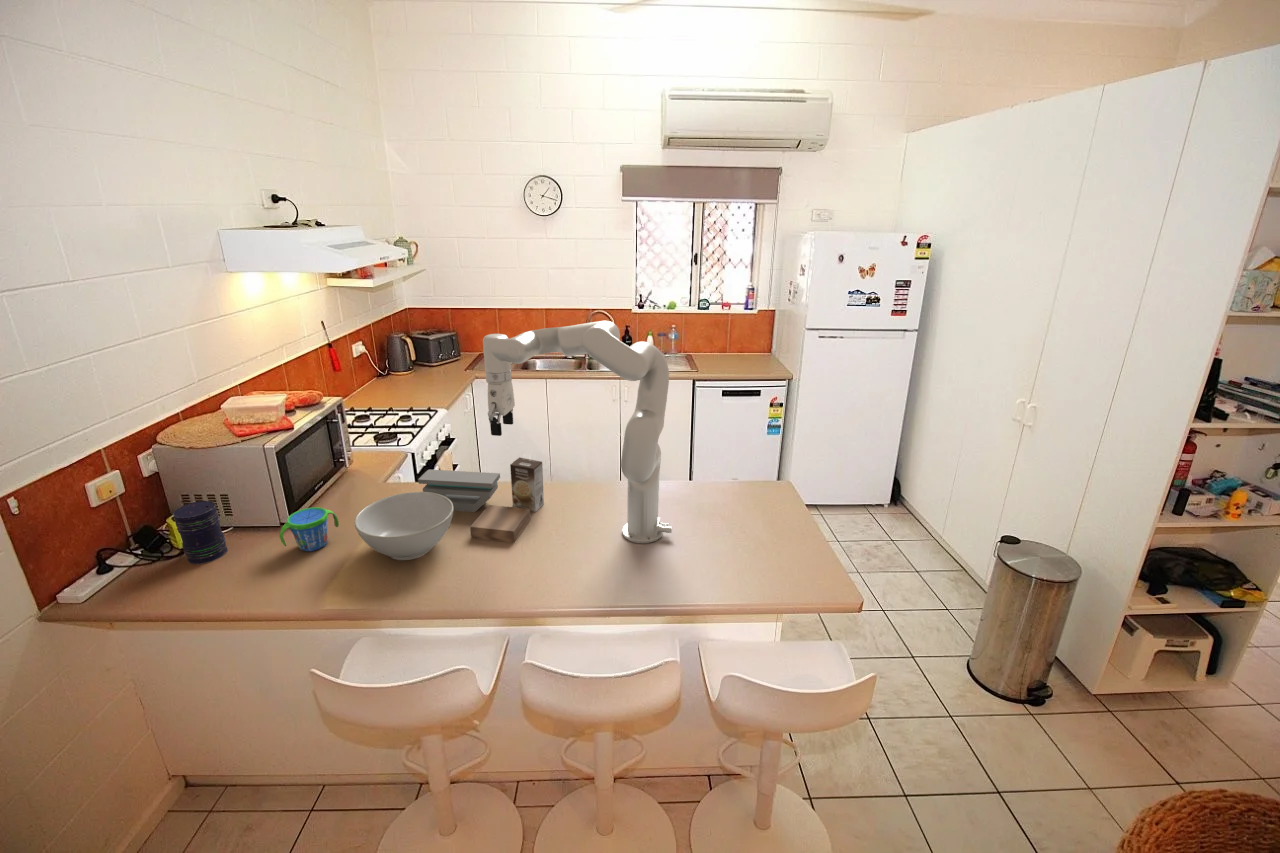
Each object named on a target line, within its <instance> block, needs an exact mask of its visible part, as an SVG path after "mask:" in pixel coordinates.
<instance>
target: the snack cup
mask: <svg viewBox="0 0 1280 853" xmlns="http://www.w3.org/2000/svg"><path fill="white" fill-rule="evenodd" d="M329 514H332V518H333V522H334V527H336V528H338V527H339V524H340V523H339V519H338V518H339V517H338V515H337V514H336V513H335V512H333V511H332V510H331V509H326V508H323V507H316V506H315V507H307V508H302V509H299V510H297V511H295V512H292V513H291V514H290V515H289V516H288V517H287V519H286V522H285V523H284V525H282V527H281V529H280V533H279V540H280V542H281V543H282V545H283V546H284V547H287V544H286V541H285V538H284V533H285V532H286V530H288V529H289V530H290V532H291V533H292V535H293V537H294V539H295V541H296V544H297V547H298V549H299V550H301V551H304V552H314V551H317V550H319V549H321V548H323V547H326V545H327V543H328V517H329Z"/></svg>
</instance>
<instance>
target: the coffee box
mask: <svg viewBox="0 0 1280 853" xmlns="http://www.w3.org/2000/svg"><path fill="white" fill-rule="evenodd" d="M509 469H510V482H511V485H510V486H511V497H512V498H511V499H512V500H511V501H512V507H514V508H524V509H530V512H535V513H536V512H537V511H538V510H540V509H541V507H542V506H543V505H545V500H544V499H545V497H544V471H543V469H544V468H543V461H542V460H541V461H540V460H535V459H530V458H525V457H524V458H523V457H518V458H516V460H514V461H513V462H512V463H510V468H509Z"/></svg>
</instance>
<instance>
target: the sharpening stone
mask: <svg viewBox="0 0 1280 853" xmlns="http://www.w3.org/2000/svg"><path fill="white" fill-rule="evenodd" d="M500 479H501V473H499V472H484V471H467V470H465V471H464V470H463V471H462V470H449V469H448V470H447V469H446V470H443V469H428V470H426V471H425V472H424V473H423V474H422V475H421V476H420V477H419V478H417V481H418V484H420V485H425V486H424V487H423V488H422V492H430V493H436V494H440V495H443V496H445V497H447V498H448V499H449V500H450V501H451V502H452V503H453V506H454V511H455V512H470V513H475V512H477V511H478V510H479V509H480V508H481V507H482V506H483V505H484V504H486V503H487V502H488V501H489V500H490V499H491V498H492V497H493V495H494V494H495V492H496V491H497V489H498V487H499V486H498V481H499V480H500ZM454 511H453V512H454Z"/></svg>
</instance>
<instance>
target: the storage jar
mask: <svg viewBox="0 0 1280 853" xmlns="http://www.w3.org/2000/svg"><path fill="white" fill-rule="evenodd" d="M172 514H173V518H174V520H175V521H174V523H175V527H176V530H177V531H178V532H177V533H179V534H180V538H181V541H182V542H181V544H182V545H181V546H182V550H183V553H184V555H185V557H186V561H187V563H189V564H192V565H204V564H207V563H211V562H214V561H216V560H218V559H220V558H222V557H223V556H225V555H226V554H227V552H228V547H227V540H226V538H225V533H224V532H223V531H222V528H221V524H220V522H221V519H220V517H219V516H220V515H219V512H218V510H217V507H216V503H215V502H214V501H211V500H199V501H195V502H190V503H187V504H184V505H182V506H179V507H178V508H176V509H175V510H174V511H173V513H172Z"/></svg>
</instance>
